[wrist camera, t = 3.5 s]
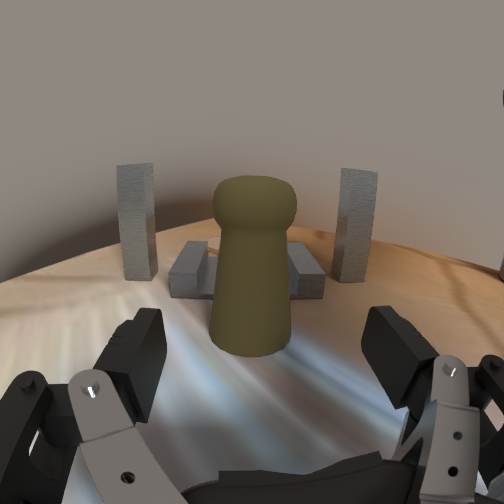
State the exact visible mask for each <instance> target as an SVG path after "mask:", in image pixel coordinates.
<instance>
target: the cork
mask: <svg viewBox="0 0 504 504" xmlns="http://www.w3.org/2000/svg"><path fill="white" fill-rule="evenodd" d="M212 202H213V214H214V218H215V220H216V222H217V223H218V225H219V226H220V228H221V229H222V231H221V239H220V246H219V254H218V262H217V270H216V278H215V287H214V296H213V305H212V314H211V324H210V333H209V335H210V337H211V339H212V342H213V343H214V344H215V345H217V346H218V347H219V348H220V349H222V350H224V351H226V352H228V353H230V354H234V355H239V356H244V357H261V356H265V355H269V354H273V353H275V352H277V351H279V350H281V349H283V348H284V347H285V346H286V345H287V343H288V342H289V341H290V337H291V314H290V290H289V270H288V252H287V236H286V231H287V229H288V228H289V227H290V226H291V224H292V223H293V221H294V218H295V214H296V210H297V200H296V194H295V192H294V190H293V188H292V186H291V185H290V184H288V183H287V182H285V181H282V180H279V179H276V178H272V177H266V176H239V177H234V178H229V179H226V180H224V181H222V182H221V183H220V184H219V185H218V187H217V189H216V190H215V192H214V197H213V200H212Z"/></svg>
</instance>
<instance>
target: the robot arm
mask: <svg viewBox="0 0 504 504" xmlns="http://www.w3.org/2000/svg"><path fill="white" fill-rule="evenodd" d="M503 105H504V91H503ZM499 276H500V278H501V279H502V280H503V281H504V255H503V260H502V264H501V268H500V271H499ZM361 348H362V352H363V354H364V356H365V358H366V359H367V361H368V363H369V364H370V366H371V368H372V370H373V371H374V373H375V375H376V376H377V378H378V380H379V382H380V383H381V385H382V387H383V389H384V390H385V392H386V394H387V396H388V397H389V399H390V401H391V403H392V405H393V406H394V408H395V410H396V409H399V408H403V407H406V406H407V407H408V409H409V410H408V411H407V413H406V415H405V419H404V422H403V426H402V430H401V433H400V437H399V440H398V444H397V447H396V450H395V453H394V455H393V457H392V458H391V460H382V458H381V455H380V453H379V451H376V452H373V453H369V454H365V455H361V456H357V457H353V458H349V459H344V460H342V461H340V462H337V463H335V464H333V465H331V466H328V467H326V468H323V469H321V470H318V471H316V472H313V473H311V474H307V475H297V474H286V473H278V472H270V471H263V470H257V471H219V480H215V481H210V482H206V483H202V484H199V485H197V486H194V487H191V488H189V489H187V490H185V491H183V492H182V493H179V491H178V490H177V489H176V487H175V486H174V485H173V484H172V482H171V481H170V479H169V478H168V477H167V475H166V474H165V472H164V471H163V470H162V468H161V467H160V465H159V464H158V462H157V461H156V459H155V458H154V456H153V455H152V453H151V452H150V450H149V448H148V447H147V445H146V443H145V442H144V440H143V439H142V437H141V435H140V433H139V432H138V430H137V428H136V427H135V424H136V422H141V423H147V422H148V418H149V414H150V411H151V407H152V404H153V400H154V397H155V393H156V390H157V386H158V383H159V379H160V376H161V373H162V369H163V366H164V363H165V360H166V355H167V342H166V336H165V330H164V324H163V317H162V312H161V310H160V309H155V308H140V309H139V310H138V312H137V314H136V316H135V317H134V319H133V320H126V321H125V322H124V323H122V324H121V325H119V326H118V327H117V329H116V330H115V332H114V334H113V335H112V337H111V338H110V340H109V342H108V344H107V345H106V347H105V348H104V350H103V352H102V353H101V355H100V357H99V358H98V360H97V362H96V364H95V365H94V367H93V369H89V370H84V371H81V372H79V373H77V374H76V375H75V376H73V377H72V379H71V380H70V382H69V384H48V383H47V381H46V379H45V377H44V376H43V375H42V374H41V373H40V372H37V371H26V372H23V373H21V374H19V375H18V376H17V377H16V378H15V379H14V380H13V381H12V383H11V384H10V386H9V387H8V389H7V390H6V392H5V394H4V395H3V397H2V398H1V400H0V504H61V503H62V499H63V495H64V491H65V487H66V484H67V480H68V476H69V473H70V469H71V466H72V463H73V459H74V456H75V453H76V450H77V447H78V446H80V448H81V451H82V454H83V457H84V459H85V462H86V465H87V467H88V469H89V472H90V474H91V476H92V479H93V481H94V483H95V485H96V488H97V490H98V492H99V494H100V496H101V498H102V500H103V502H104V504H504V424H503V426H502V428H501V429H500V430H499V431H498V432H497V430H496V428H495V427H494V425H493V424H492V422H491V421H490V419H489V418H488V416H487V415H486V413H485V412H484V410H485V409H486V407H487V406H488V404H489V403H490V401H491V400H492V399H493V400H494V402H495V403H496V404H497V406H498V407H499V409H500V410H501V412H502V413H503V415H504V360H503V359H501V358H500V357H498V356H495V355H485V356H484V357H483V358H482V360H481V362H480V364H479V366H478V367H466V365H465V364H464V363H463V362H462V361H461V360H460V359H458V358H457V357H454V356H451V355H441V356H440V355H439V354H438V352H437V351H436V350H435V349H434V348H433V347H432V346H431V345H430V343H429V342H428V341H427V340H426V339H425V338H424V337H422V335H421V334H420V332H419V331H417V329H416V328H415V327H414V326H413V325H412V324H411V323H410V322H409V321H407V320H406V319H404V318H402V317H401V316H399V315H398V314H397V313H396V312H395V311H394V309H393V308H392V307H391V306H388V305H387V306H375V307H371V308H370V310H369V313H368V317H367V321H366V325H365V328H364V332H363V336H362V340H361ZM37 430H38V432H39V435H38V437H37V439H36V442H35V444H34V446H33V449H32V451H31V454H30V456H29V448H30V446H31V443H32V441H33V439H34V436H35V434H36V432H37ZM478 471H479V473H480V475H481V477H482V479H483V481H484V483H485V485H486V487H487V490H488V493H487V494H486V495H485V496H484V495H481V494H479V493H476V492H475V488H476V481H477V473H478Z"/></svg>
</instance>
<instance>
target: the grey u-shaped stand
mask: <svg viewBox="0 0 504 504" xmlns="http://www.w3.org/2000/svg"><path fill="white" fill-rule="evenodd" d="M377 178H378V172H372V171H365V170H357V169H346V168H341V180H340V195H339V207H338V217H337V228H336V237H335V245H334V254H333V261H332V269H331V273H332V274H333V275H334V276H335V277H336V279H337V280H338V281H339V282H364V278H365V273H366V267H367V261H368V255H369V249H370V242H371V235H372V227H373V219H374V211H375V201H376V189H377ZM153 192H154V189H153V163H143V164H131V165H119V166H117V199H118V216H119V228H120V239H121V249H122V257H123V265H124V273H125V279H126V280H138V281H151V280H152V279H153V277H154V276H155V274H156V273H157V271H158V262H157V250H156V236H155V218H154V193H153ZM287 252H288V270H289V290H290V299H317V298H323V292H324V285H325V278H326V273H325V272H324V270H323V269H322V268H321V266H320V265H319V264H318V263H317V261H316V260H315V259H314V257H313V256H312V255H311V253H310V252H309V251H308V250H307V248H306V247H305V246H304V245H303V243H300V242H287ZM217 262H218V257H208V241H187V243H186V244H185V246H184V248H183V249H182V251H181V253H180V254H179V256H178V258H177V259H176V261H175V263H174V264H173V266H172V268H171V269H170V271H169V281H170V291H171V298H196V299H213V296H214V287H215V278H216V270H217Z"/></svg>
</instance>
